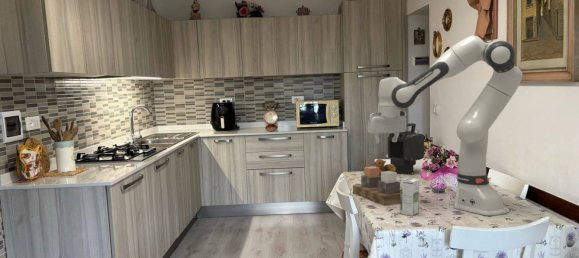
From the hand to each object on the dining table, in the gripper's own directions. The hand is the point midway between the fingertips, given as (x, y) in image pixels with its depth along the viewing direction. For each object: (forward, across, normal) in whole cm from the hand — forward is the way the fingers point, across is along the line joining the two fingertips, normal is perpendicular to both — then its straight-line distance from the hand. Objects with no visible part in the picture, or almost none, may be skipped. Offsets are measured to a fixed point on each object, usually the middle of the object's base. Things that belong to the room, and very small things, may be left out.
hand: (386, 142), depth 201 cm
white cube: (+19, +1, -2) cm, 19 cm away
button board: (+27, +2, +5) cm, 28 cm away
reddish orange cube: (+19, +2, +12) cm, 23 cm away
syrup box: (+27, -5, -22) cm, 35 cm away
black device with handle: (+27, +52, +43) cm, 72 cm away
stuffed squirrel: (+28, +24, +31) cm, 48 cm away
